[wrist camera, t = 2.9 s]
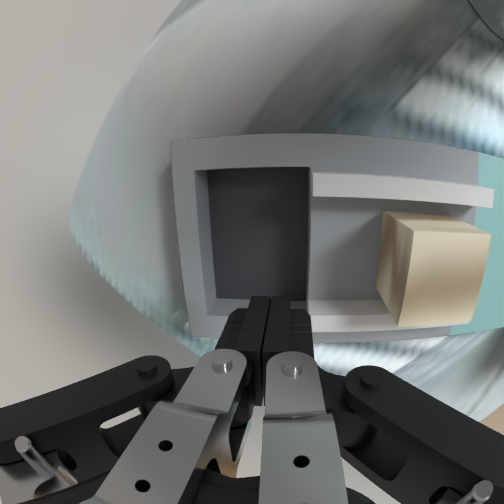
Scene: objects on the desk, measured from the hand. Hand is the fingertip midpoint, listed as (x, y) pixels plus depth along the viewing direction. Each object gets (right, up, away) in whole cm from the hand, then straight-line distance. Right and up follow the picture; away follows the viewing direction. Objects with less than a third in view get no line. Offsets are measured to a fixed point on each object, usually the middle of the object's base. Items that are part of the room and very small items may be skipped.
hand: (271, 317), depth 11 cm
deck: (+9, +4, +8) cm, 13 cm away
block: (+10, +3, +5) cm, 11 cm away
